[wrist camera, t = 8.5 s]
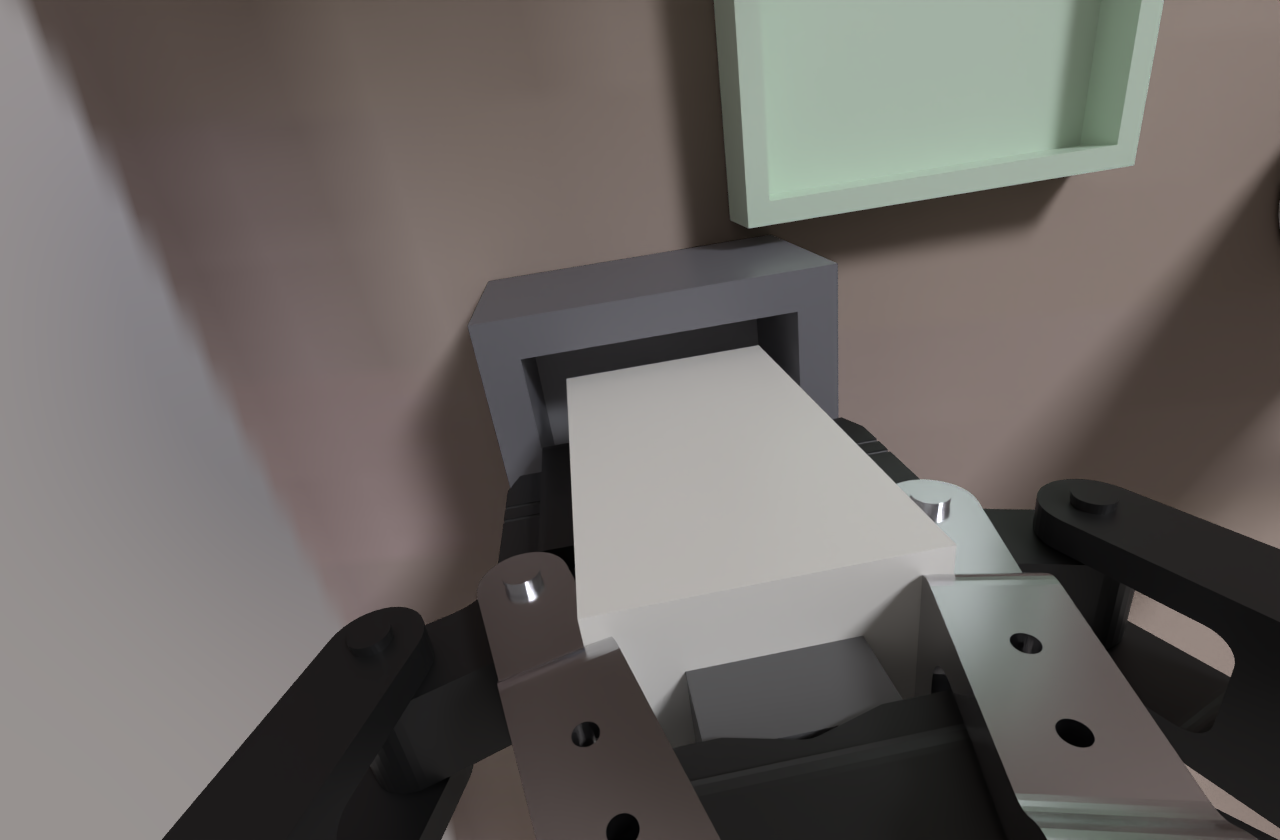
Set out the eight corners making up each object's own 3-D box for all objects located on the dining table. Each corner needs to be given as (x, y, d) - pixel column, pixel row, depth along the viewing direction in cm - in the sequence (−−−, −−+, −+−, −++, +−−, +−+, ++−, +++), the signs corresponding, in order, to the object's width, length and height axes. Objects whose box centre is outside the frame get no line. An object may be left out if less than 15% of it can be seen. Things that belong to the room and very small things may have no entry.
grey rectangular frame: (488, 281, 15) (467, 325, 11) (770, 234, 15) (837, 263, 12) (598, 736, 22) (607, 855, 18) (793, 695, 22) (840, 804, 18)
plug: (566, 378, 13) (582, 699, 5) (758, 345, 13) (1022, 610, 6) (599, 539, 14) (643, 949, 7) (768, 507, 15) (979, 872, 7)
